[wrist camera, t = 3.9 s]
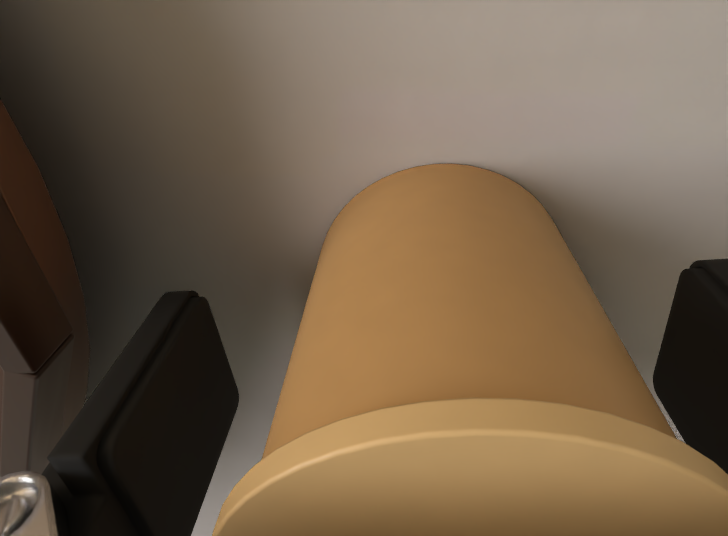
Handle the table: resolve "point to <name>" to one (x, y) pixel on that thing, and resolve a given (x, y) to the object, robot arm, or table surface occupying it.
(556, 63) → the table surface
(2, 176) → the tray
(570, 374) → the tan cylinder
